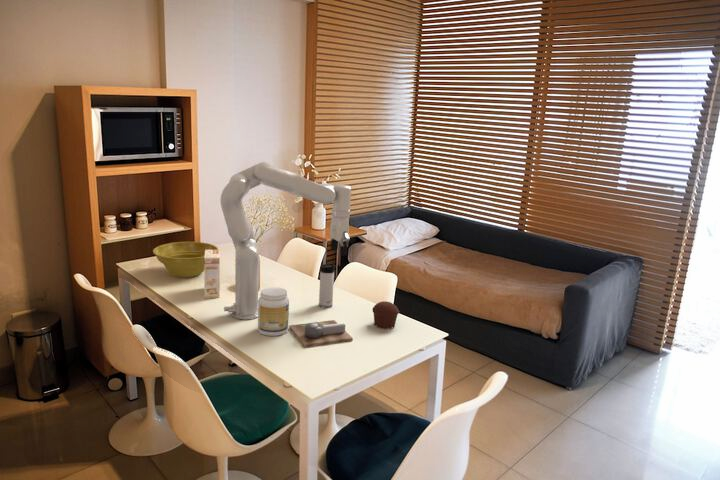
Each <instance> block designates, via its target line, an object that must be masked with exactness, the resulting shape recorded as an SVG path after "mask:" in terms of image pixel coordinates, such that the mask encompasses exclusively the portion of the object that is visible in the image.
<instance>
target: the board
mask: <svg viewBox="0 0 720 480" xmlns="http://www.w3.org/2000/svg"><path fill="white" fill-rule="evenodd" d="M309 323H310V322H308V323H307V322H306V323H298V324H292V325H291V324H290V325H289V324H288V330H290V331H291V332H292V334H293V335H294V337H296V338H297V340H298V341H299V343H300V344H301V345H302V346H303V347H304V348H311V347H319V346H323V345H324V346H325V345H331V344H339V343H340V344H341V343H346V342H352V341H353V337H352V336H351V335H350V334H349V333H348V332H347V331H346V330H345V332H341V333H333V334H326V335H323V336H322V337H320V338H316V339H312V338H308V337H306V336H305V325H307V324H309ZM313 323H318V324H321V325H322V326H323V325H331V324H339V323H338V322H337V321H336V320H335V319H331V320H324V321H323V320H322V321H315V322H313Z"/></svg>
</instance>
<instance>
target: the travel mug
mask: <svg viewBox="0 0 720 480" xmlns="http://www.w3.org/2000/svg"><path fill="white" fill-rule="evenodd" d="M335 268H336V264H334V263H325V264H322V265H320V273H319V294H318V297H319V298H318V306H319V308H323V309H330V308H332V307H333V302H334V300H333V298H334V284H335V283H334V281H335Z"/></svg>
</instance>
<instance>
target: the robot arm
mask: <svg viewBox="0 0 720 480" xmlns="http://www.w3.org/2000/svg"><path fill="white" fill-rule="evenodd" d="M261 185H263V186H265V187H266V186H267V187H270V188H273V189H276V190H280V191H283V192H286V193H289V194H292V195H294V196H298V197H301V198H303V199H306V200H309V201H312V202H316V203H319V204H323V205H330V204H332V212H331V215H332V216H331V220H330V229H329V237H330V250H334V251H335V250H339V249H340V250H339V255H340V256H348V249H349V248H348V247H349V244H350V241H351V239H350V236H349V235H350V223H349V222H350V216H351V214H350V213H351V199H352V188H351V186H350V185H347V184H331V183H330V184H329V183H324V182H322V183H318V182H315V181H312V180H309V179H308V178H305V177H304V176H302V175H300V174H298V173H296V172H294V171H291V170H286V169H283V168H280V167H276V166H274V165H272V164H271V163H269V162H266V161H265V162H263V161H262V162H259V163H257V164H256V163H255V164H254V165H252V166H250V167H248V168H246V169H243V170H241V171H239V172H236V173H234V174H233V175H232V176H231V177H230V179H229V181H228V183H227V184H226V185H225V186H224V188H223V190H222V191H221V194H220V206H221V207H220V208H221V212H222V213H223V217H224V221H225V224H226V227H227V233H228V236H229V237H230V238H231V240H232V244H233V246H234V249H235V253H234V254H235V259H234V260H235V264H234V265H235V267H234V268H235V270H234V272H235V275H234V276H235V277H234V280H235V286H234V288H235V292H234V293H235V295H234V297H235V301H234V303H232V304H233V305H231V306H224V307H223V311H224V312H227V313H228V314H229V313H231V316H232V317H233V318H234V319H239V320H252V319H258V300H259V267H260V266H259V264H260V251H259V247H258V243H257V241H256V240H257V239H256V237H255V235H254V231H253V228H252V225H251V221H250V220H249V218H248V217H247V216H246V212H245V209H244V205H243V199H244V198H245V196H246V195H248V193H249V192H250V190H252V189H254V188H256V187H259V186H261ZM339 242H340V247H339ZM338 248H339V249H338Z"/></svg>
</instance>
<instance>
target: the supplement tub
mask: <svg viewBox="0 0 720 480" xmlns="http://www.w3.org/2000/svg"><path fill="white" fill-rule="evenodd" d="M289 312H290V300H289V297H288V290H287V289H285V288H282V287H277V286H273V287H265V288H263V289H261V290H260V296H259V297H258V317H257V331H258V332H259V333H260V334H261V335H265V336H270V337H276V336H282V335H284V334H286V333H287V331H288V330H289V314H290V313H289Z"/></svg>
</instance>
